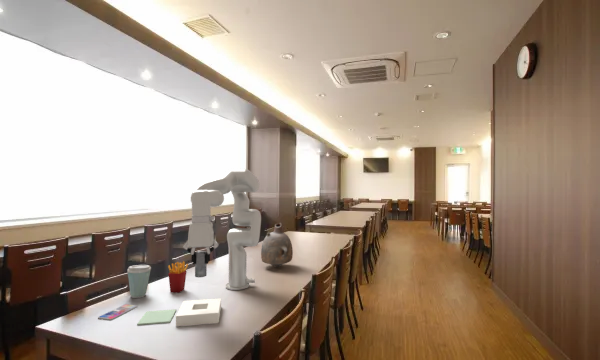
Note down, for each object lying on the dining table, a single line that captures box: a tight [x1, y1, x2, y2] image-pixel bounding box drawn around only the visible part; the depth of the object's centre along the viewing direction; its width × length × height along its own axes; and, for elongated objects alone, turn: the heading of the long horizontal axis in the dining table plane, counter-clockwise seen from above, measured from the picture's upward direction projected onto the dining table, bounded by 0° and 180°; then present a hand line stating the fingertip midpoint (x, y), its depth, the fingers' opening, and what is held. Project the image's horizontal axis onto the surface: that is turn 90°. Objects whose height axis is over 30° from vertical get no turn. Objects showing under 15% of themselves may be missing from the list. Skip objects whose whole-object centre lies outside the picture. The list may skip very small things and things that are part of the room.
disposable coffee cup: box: [126, 264, 152, 299], centre depth 150 cm, size 11×11×15 cm
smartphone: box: [97, 303, 138, 321], centre depth 129 cm, size 7×1×15 cm
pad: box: [136, 309, 177, 326], centre depth 124 cm, size 12×12×1 cm
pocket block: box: [175, 297, 222, 327], centre depth 126 cm, size 16×16×4 cm
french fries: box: [167, 260, 189, 294], centre depth 158 cm, size 9×8×15 cm
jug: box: [260, 222, 294, 268], centre depth 204 cm, size 24×21×30 cm
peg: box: [194, 250, 208, 278], centre depth 126 cm, size 5×5×10 cm
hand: (200, 262), depth 126 cm, fingers closed on peg, 4 cm apart
